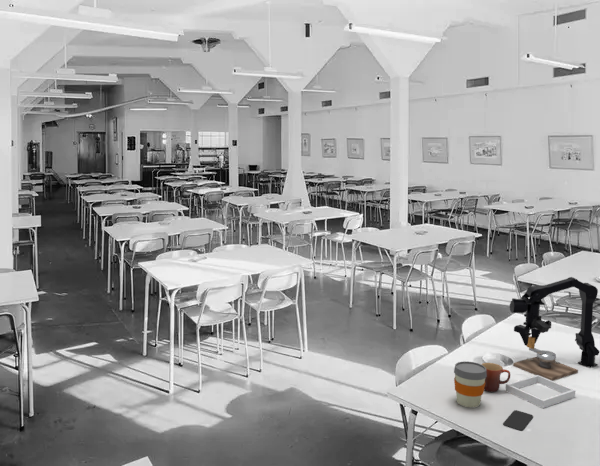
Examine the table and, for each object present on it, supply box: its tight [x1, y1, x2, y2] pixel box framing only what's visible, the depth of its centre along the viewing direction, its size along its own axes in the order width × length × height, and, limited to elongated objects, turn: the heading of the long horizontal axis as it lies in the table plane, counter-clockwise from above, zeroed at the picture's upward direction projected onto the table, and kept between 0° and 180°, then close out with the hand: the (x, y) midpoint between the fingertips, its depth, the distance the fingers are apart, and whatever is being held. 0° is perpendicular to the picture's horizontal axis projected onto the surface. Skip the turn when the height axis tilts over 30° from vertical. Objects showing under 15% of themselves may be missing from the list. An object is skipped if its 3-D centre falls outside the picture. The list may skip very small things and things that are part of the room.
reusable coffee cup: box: [453, 360, 487, 409], centre depth 220 cm, size 13×13×15 cm
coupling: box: [526, 335, 557, 363], centre depth 258 cm, size 14×8×8 cm, turn 27°
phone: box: [502, 409, 534, 432], centre depth 206 cm, size 7×1×15 cm
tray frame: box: [504, 375, 576, 409], centre depth 230 cm, size 21×18×3 cm
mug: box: [480, 362, 511, 393], centre depth 232 cm, size 12×9×10 cm
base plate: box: [512, 356, 579, 381], centre depth 256 cm, size 20×20×4 cm
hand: (530, 344), depth 263 cm, fingers open, 6 cm apart
